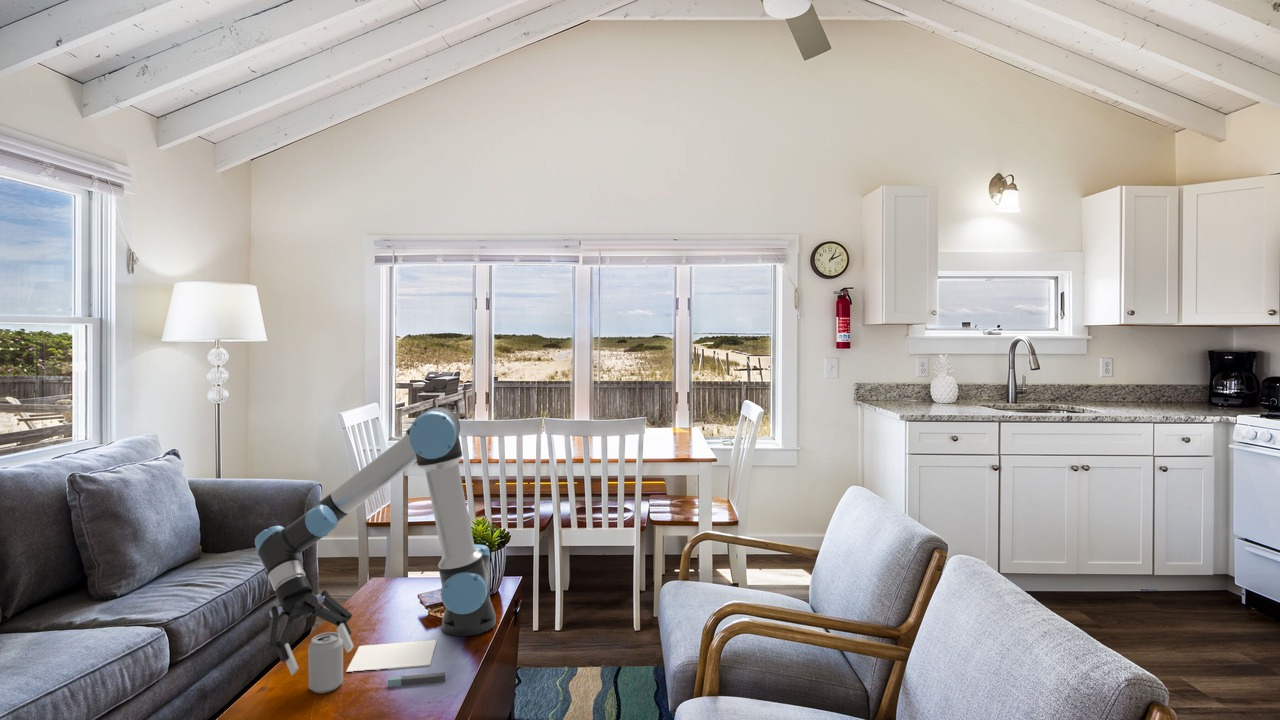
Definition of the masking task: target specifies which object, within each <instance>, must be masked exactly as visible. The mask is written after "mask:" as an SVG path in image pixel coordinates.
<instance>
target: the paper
mask: <svg viewBox="0 0 1280 720" xmlns="http://www.w3.org/2000/svg"><path fill="white" fill-rule="evenodd" d="M437 641H438V640H437V639H430V640H419V641H406V642H393V643H382V644H381V643H380V644H365V645H359V646H358V647H357V650H356V651H355V654H354V656H353V657H352V659H351V660H350V663H349V665H348V667H347V669H346V671H345V673H346V672H352V673H354V672H353V671H364V670H376V671H381V670H380V669H388V670H397V669H398V670H399V669H411V668H423V667H430V666H431V664H432V660H433V657H434V656H433V655H434V653H435V649H436V646H437ZM364 672H365V671H364Z"/></svg>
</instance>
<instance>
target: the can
mask: <svg viewBox="0 0 1280 720" xmlns="http://www.w3.org/2000/svg"><path fill="white" fill-rule="evenodd" d="M307 653H308V655H307V657H308V660H307V663H308V688H309V690H311V691H313V693H316V694H325V693H329V692H332V691H334V690H336V689H338V688H339V687H340V686H341V684H342V683H343V682H344V645H343V640H342V639H341V638H340V634H339V633H338V632H337V631H336V632H334V631H328V632H327V631H326V632H322V633H320V634H317V635H315V636H313V637H312V638H311V640H310V643H309V645H308V647H307Z"/></svg>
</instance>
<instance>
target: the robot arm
mask: <svg viewBox="0 0 1280 720" xmlns="http://www.w3.org/2000/svg"><path fill="white" fill-rule="evenodd" d="M460 424H461V423H460V421H459V417H457V414H456V413H454V411H452V410H450V409H449V408H446V407H442V406H436V407H431V408H428V409H427V410H425V411H424V412H422V413H421V414H419V415H418V416H417V417H416V418H415V419H414V420H413V422H412V423H411V425H410V427H409V428H407V429H406V431H405V435H404V436H403V437H401V439H399V440H397V442H396V443H394V444H392V445H391V446H390V447H389V448H388V449H387V450H385V451H384V452H383V453H381V454H380V455H378V456H377V457H376V458H374V460H372V461H371V462H369V463H368V464H367V465H365V466H364V467H363V468H362V469H360V470H359V471H358V472H356V473H355V474H354V475H353V476H351V477H350V478H349V479H347V480H346V481H344V483H342V484H341V485H339V486H338V487H337V488H336V489H335V490H333V491H332V492H330V493H329V494H327V496H325V497H324V498H323V499H321V500H319V501H318V502H316V504H315V505H313V506H312V508H310V509H309V510H308V511H306V512H305V513H304V514H303V515H302V516H300V517H298V518H297V519H296V520H295V521H293V522H292V523H290V524H289V525H287V526H285V527H284V526H282V525H275V526H274V525H273V526H270V527H268V528H267V529H264V530H262V531H261V532H260V533H258V534H257V535H256V536H255V538H254V546H255V549H256V552H257V556H258V557H259V558H260V561H261V563H262V565H263V567H264V570H265V572H266V574H267V577H268V580H269V582H270V584H271V586H272V589H273V590H274V592H275V593H274V594H275V597H276V599H277V601H278V604H279V605H280V606H276V605H273V606H272V607H271V608H270V610H269V611H268V618H269V625H268V626H269V627H268V632H267V633H268V634H267V638H266V639H267V640H266V644H265V650H266V651H267V652H270V651H271V650H272V651H274V653H277V654H278V658H279V659H280V662H282V663H284V662H285V663H286V666H287V668H288V670H289V674H290V676H293V675H296V673H297V672H298V670H299V667H300V666H299V665H298V663H297V661H296V658H295V656H294V653H293V651H292V649H291V646H290V644H289V642H287V643H285V642H286V639H287V637H288V634H289V633H290V630H291V628H292V625H293V623H294V620H295V621H300V620H302V619H305V618H309V617H310V616H313V617H317V618H320V619H322V620H323V621H327V622H329V624H330V623H331V624H332V625H335V626H336V627H337V628H336V629H335V630H336V633H339V634H340V638H341V639H342V640H343V648H344V650H345V652H346V653H350V652H351V651H352V650H353V648H354V647H355V645H354V643H353V641H352V638H351V634H352V630H351V629H350V627H349V625H348V622H349V621H350V619H352V617H353V614H352V613H351V612H350V611H348V610H347V609H346V608H345V607H344V606H343V605H341V604H340V603H339V602H338V601H336V600H335V599H334V598H333V597H331V596H330V594H329V592H328V591H327V590H326V589H325V590H324V589H323V590H322V591H321V593H318V594H315V593H313V589H312V586H311V584H310V582H309V580H308V577H306V572H305V570H304V569H303V566H302V564H301V562H300V560H299V557H298V555H299V554H301V553H303V552H304V551H305V550H306V549H308V548H309V547H311V546H312V545H314V544H315V543H317V542H318V541H321V540H322V539H323V538H324V537H326V536H328V535H329V534H331V532H332V531H334V530H335V529H336V528H337V527H338V522H340V521H341V520H343V519H344V518H345V517H347V516H348V515H349V514H350V513H351V512H352V511H354V510H355V509H356V508H358V507H359V506H361V505H362V504H363V503H364V502H366V501H367V500H368V499H369V498H371V497H372V496H374V495H375V494H377V492H379V491H380V490H381V489H383V488H384V487H385V486H387V485H388V484H389V483H390V482H392V481H393V480H394V479H396V477H398V476H399V475H400V474H403V472H405V471H406V470H407V469H409V468H410V467H411V466H412V465H413V464H415V463H417V467H419V468H420V469H422V470H423V471H424V473H425V476H426V482H427V486H428V487H427V488H428V491H429V497H430V501H431V507H432V512H433V516H434V521H435V526H436V527H435V528H436V531H437V538H438V541H439V546H440V551H441V559H440V561H439V562H438V564H437V567H438V573H439V577H440V582H441V589H440V598H441V602H442V604H443V606H444V607H445V609H444V610H445V611H444V613H443V616H442V618H441V619H442V620H441V630H442V632H444V633H445V634H448V635H449V636H454V637H472V636H477V635H481V634H484V633H486V632H489V631H491V630H492V629H493V628H495V626H496V624H497V622H496V621H497V614H496V611H495V609H494V606H493V603H492V601H491V600H492V599H491V597H490V585H491V583H490V580H491V579H490V557H491V554H490V548H489V547H488V546H487V545H485V544H475V543H474V537H473V532H472V531H473V530H472V526H471V522H470V517H469V516H470V515H469V512H468V506H467V501H466V497H465V492H464V491H465V490H464V486H463V481H462V477H461V471H460V466H459V462H460V460H461V459H462V457H463V450H462V445H461V441H460V431H461V425H460ZM318 602H319V603H318ZM281 614H283V615H285V616H286V619H285V623H284V625H283V628H282V630H281V631H280V634H279V637H278V639H277V633H278V625H279V620H280V618H279V617H280V616H281ZM491 628H492V629H491ZM488 630H489V631H488ZM485 631H486V632H485ZM483 632H484V633H483ZM276 639H277V641H276Z"/></svg>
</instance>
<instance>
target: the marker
mask: <svg viewBox="0 0 1280 720" xmlns="http://www.w3.org/2000/svg"><path fill="white" fill-rule="evenodd" d="M445 682H446V672H437V673H434V672H433V673H424V674H413V675H410V674H409V675H394V676H389V677H388V679H387V688H395V686H396V687H405V686H415V685H416V686H417V685H426V684H427V685H428V684H437V683H438V684H439V683H445ZM392 686H394V687H392Z"/></svg>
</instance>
